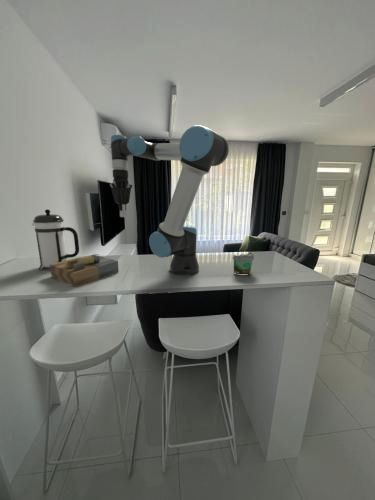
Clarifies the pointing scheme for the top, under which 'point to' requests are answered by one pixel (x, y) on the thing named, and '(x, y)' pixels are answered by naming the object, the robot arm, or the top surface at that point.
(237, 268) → the food container
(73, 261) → the lock bar
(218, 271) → the top surface
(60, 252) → the coffee press
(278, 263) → the top surface
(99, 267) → the slotted wooden block
